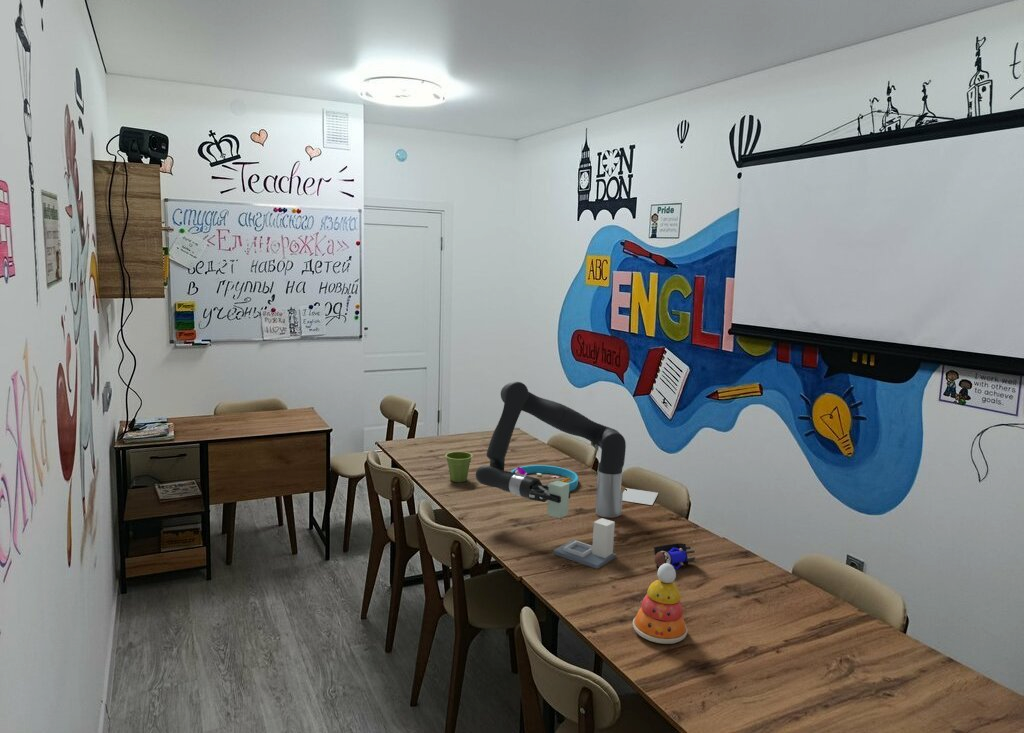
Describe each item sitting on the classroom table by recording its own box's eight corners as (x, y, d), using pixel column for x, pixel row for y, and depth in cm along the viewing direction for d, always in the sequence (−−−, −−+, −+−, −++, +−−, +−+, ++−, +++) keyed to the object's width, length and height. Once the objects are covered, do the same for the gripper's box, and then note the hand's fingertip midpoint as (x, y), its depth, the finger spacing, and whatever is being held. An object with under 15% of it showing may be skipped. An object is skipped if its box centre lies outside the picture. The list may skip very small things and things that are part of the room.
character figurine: (698, 569, 227) (659, 576, 221) (684, 558, 234) (646, 564, 228) (701, 547, 226) (662, 553, 220) (687, 536, 232) (648, 542, 226)
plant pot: (444, 475, 312) (445, 451, 310) (471, 476, 314) (472, 451, 312) (444, 484, 301) (445, 458, 299) (472, 484, 302) (473, 459, 300)
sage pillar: (555, 510, 242) (557, 480, 240) (567, 514, 239) (569, 483, 237) (547, 514, 238) (548, 483, 237) (559, 518, 235) (561, 486, 234)
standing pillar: (599, 549, 236) (601, 518, 234) (612, 553, 233) (614, 521, 231) (591, 553, 232) (593, 522, 230) (605, 558, 229) (607, 526, 227)
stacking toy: (627, 640, 182) (632, 569, 179) (637, 615, 195) (642, 548, 192) (683, 652, 177) (689, 580, 174) (690, 626, 190) (695, 558, 188)
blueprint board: (572, 543, 243) (573, 536, 243) (615, 557, 233) (616, 550, 233) (553, 553, 234) (553, 546, 234) (597, 568, 224) (597, 561, 223)
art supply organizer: (514, 471, 325) (514, 458, 324) (579, 476, 321) (579, 463, 320) (504, 491, 296) (505, 478, 295) (575, 497, 292) (576, 483, 291)
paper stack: (595, 498, 292) (595, 496, 292) (608, 481, 315) (608, 479, 315) (652, 506, 284) (652, 505, 284) (661, 488, 307) (661, 487, 307)
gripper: (512, 480, 240) (553, 492, 230) (537, 471, 251) (577, 482, 241) (511, 501, 241) (552, 514, 231) (536, 491, 253) (576, 503, 242)
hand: (565, 497), depth 236 cm, fingers closed on sage pillar, 5 cm apart
